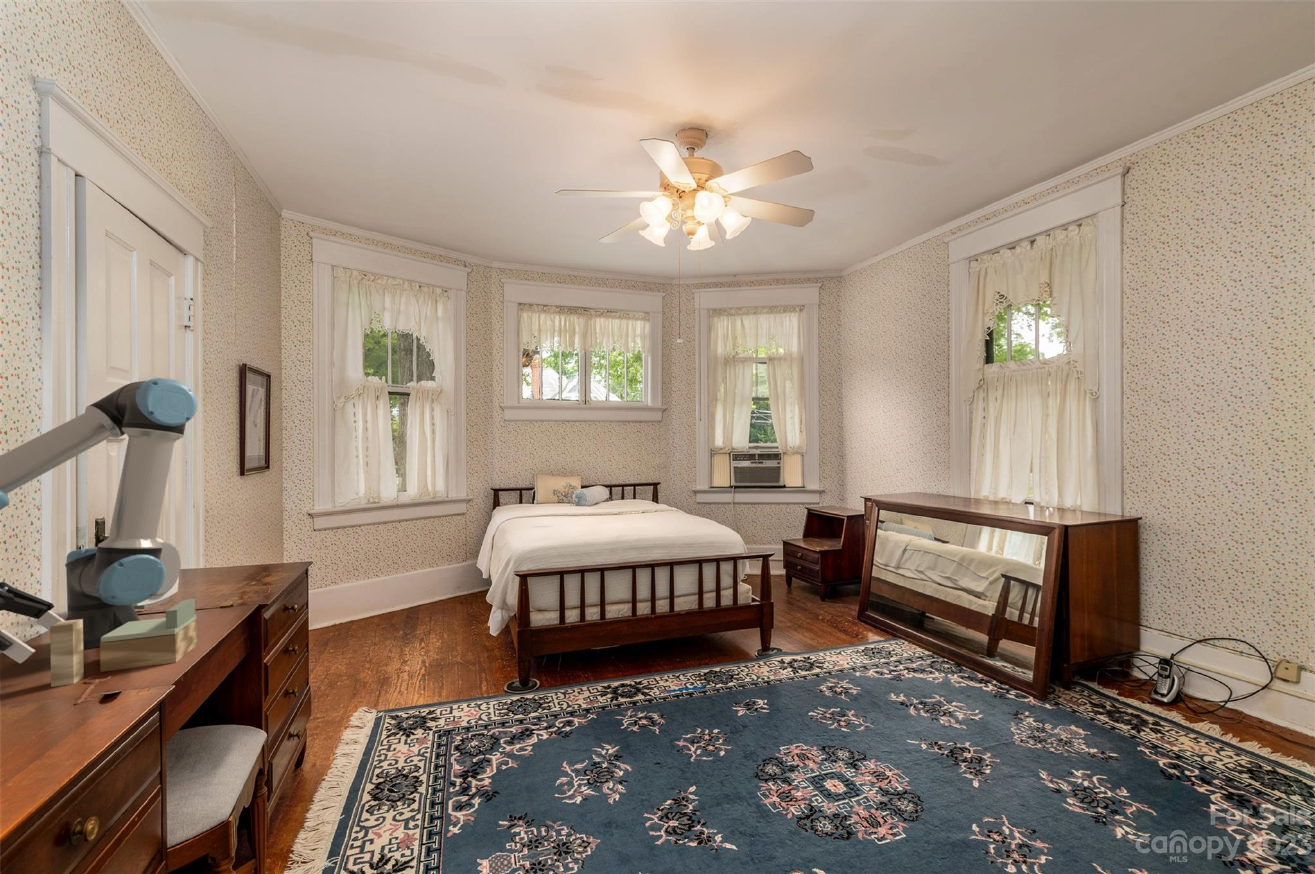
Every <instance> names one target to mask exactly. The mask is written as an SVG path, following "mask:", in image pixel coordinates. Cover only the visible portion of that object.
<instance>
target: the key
mask: <svg viewBox="0 0 1315 874" xmlns="http://www.w3.org/2000/svg"><path fill="white" fill-rule="evenodd" d="M110 679H112V676H110V675H97V676H92V677H89V678H87V679H85V683H86V684H89V686H88V687H87V688H86V689H85V691H84V692H83V693H82V694H81V695H80V697H78V699H77V700H76V701H75V702H74V704H78V705H81V704H80V702H84V703H86V702H85V701H86V700H92V701H97V700H98V699H100V697H101V696H103V693H104V692H101V693H92V694H90V693H91V692H92V691H93V690H94V689H95V688H96V686H97V685H98V684H99V683H101V682H105V681H108V680H110ZM97 698H98V699H97ZM83 700H84V701H83Z"/></svg>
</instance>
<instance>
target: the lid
mask: <svg viewBox="0 0 1315 874" xmlns="http://www.w3.org/2000/svg"><path fill="white" fill-rule="evenodd" d="M194 620H197V614H196V599H195V598H189V599H183V600H182V601H180V602H179V603H176V604H174V605H173V606H172V607H169V609H167V610H166V611H165V617H163V618H151V619H141V620H140V621H131V622H127V623H126V624H124V625H122V626H120V627H119V628H117V629H115V630H113V631H111V632H110V633H108V634H106V635H104V636H103V637H101V642H108V641H117V640H125V639H134V638H143V637H152V636H161V635H170V634H176V633H177V632H178V631H180V630H181V629H183V628H184V627H185V626H187V625H188V624H190V623H191V622H193V621H194Z"/></svg>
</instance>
